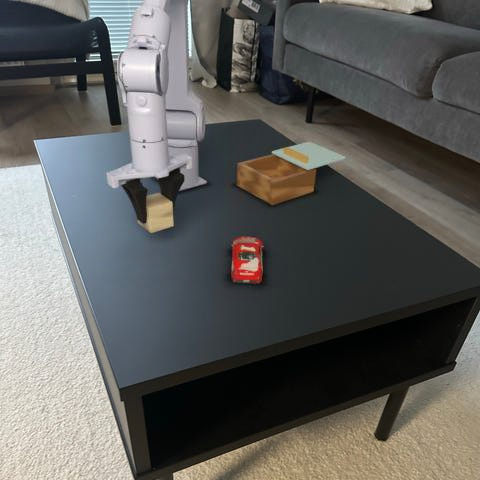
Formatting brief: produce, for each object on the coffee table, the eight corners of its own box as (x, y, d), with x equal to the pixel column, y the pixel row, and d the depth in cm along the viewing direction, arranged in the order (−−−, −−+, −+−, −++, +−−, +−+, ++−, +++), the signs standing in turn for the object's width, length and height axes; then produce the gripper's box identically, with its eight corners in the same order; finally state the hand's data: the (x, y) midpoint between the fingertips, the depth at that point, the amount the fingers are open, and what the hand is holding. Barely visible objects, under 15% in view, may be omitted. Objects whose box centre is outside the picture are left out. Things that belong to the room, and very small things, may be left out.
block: (137, 222, 86) (135, 198, 83) (160, 216, 89) (158, 192, 86) (151, 233, 84) (148, 208, 81) (173, 226, 86) (172, 201, 83)
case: (236, 185, 111) (237, 163, 107) (277, 173, 117) (279, 152, 113) (272, 205, 103) (274, 182, 100) (313, 191, 109) (316, 169, 106)
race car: (232, 245, 90) (233, 225, 88) (262, 247, 90) (264, 227, 88) (228, 286, 80) (228, 265, 77) (262, 288, 80) (263, 267, 77)
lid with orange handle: (271, 153, 112) (272, 145, 111) (308, 143, 118) (309, 136, 117) (307, 170, 105) (308, 162, 104) (345, 159, 111) (346, 151, 110)
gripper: (118, 154, 71) (128, 238, 79) (202, 135, 78) (203, 214, 86) (95, 139, 75) (107, 221, 83) (177, 123, 82) (181, 200, 91)
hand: (154, 217), depth 85 cm, fingers closed on block, 4 cm apart
